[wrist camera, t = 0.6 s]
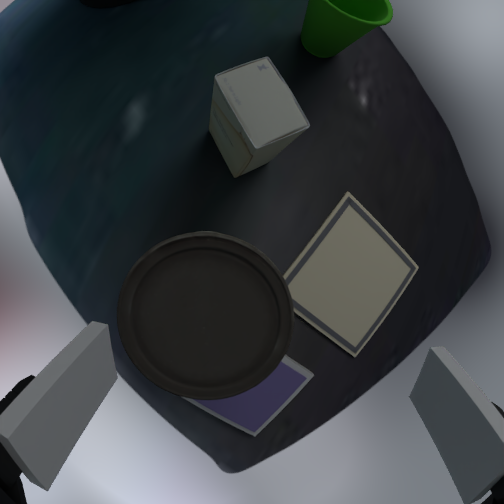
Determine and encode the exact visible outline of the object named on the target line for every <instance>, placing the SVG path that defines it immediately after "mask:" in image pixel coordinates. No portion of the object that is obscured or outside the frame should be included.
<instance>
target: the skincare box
mask: <svg viewBox="0 0 504 504" xmlns="http://www.w3.org/2000/svg"><path fill="white" fill-rule="evenodd" d="M309 126H310V124H309V122H308V120H307V118H306V116H305V115H304V113H303V111H302V109H301V108H300V106H299V104H298V102H297V100H296V99H295V97H294V95H293V93H292V92H291V90H290V89H289V87H288V85H287V84H286V82H285V81H284V79H283V78H282V76H281V75H280V73H279V72H278V70H277V69H276V67H275V66H274V64H273V63H272V61H271V60H270V58H269V57H264V58H261V59H257V60H254V61H251V62H248V63H245V64H242V65H239V66H237V67H234V68H231V69H228V70H226V71H224V72H221V73H219V74H217V75H215V78H214V87H213V96H212V105H211V114H210V123H209V131H210V133H211V135H212V137H213V139H214V141H215V143H216V145H217V147H218V149H219V151H220V152H221V154H222V156H223V158H224V160H225V162H226V164H227V166H228V167H229V169H230V171H231V173H232V175H233V177H234V178H236V177H238V176H241V175H243V174H245V173H247V172H249V171H252V170H254V169H256V168H258V167H260V166H262V165H264V164H266V163H268V162H269V161H270V160H272V159H273V158H274V157H275V156H276V155H277V154H278V153H279V152H281V151H282V150H283V149H284V148H285V147H286V146H288V145H289V144H290V143H291V142H292V141H293V140H295V139H296V138H297V137H298V136H299V135H300V134H302V133H303V132H304V131H305V130H306V129H308V128H309Z"/></svg>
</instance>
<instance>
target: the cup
mask: <svg viewBox="0 0 504 504" xmlns="http://www.w3.org/2000/svg"><path fill="white" fill-rule="evenodd" d="M392 17H393V9H392V6H391V3H390V2H389V0H309V3H308V7H307V11H306V15H305V19H304V23H303V27H302V31H301V42H302V45H303V46H304V48H305V49H306V50H307V51H308V52H310V53H311V54H313V55H315V56H318V57H322V58H329V57H333V56H335V55H336V54H338V53H339V52H341V51H342V50H343V49H345V48H346V47H348V46H349V45H350V44H352V43H353V42H355V41H356V40H358V39H359V38H360V37H362V36H363V35H365V34H366V33H368V32H369V31H371V30H372V29H374V28H376V27H377V26H382V25H386V24H388V23H389V22H390V21H391V19H392Z"/></svg>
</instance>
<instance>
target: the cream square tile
mask: <svg viewBox="0 0 504 504" xmlns="http://www.w3.org/2000/svg"><path fill="white" fill-rule="evenodd" d="M418 268H419V267H418V266H417V265H416V263H415V262H414V261H413V260H412V259H411V258H410V256H409V255H408V254H407V253H406V252H405V251H404V250H403V248H402V247H401V246H400V245H399V244H398V243H397V242H396V241H395V240H394V238H393V237H392V236H391V235H390V234H389V233H388V232H387V231H386V230H385V229H384V228H383V227H382V225H381V224H380V223H379V222H378V221H377V220H376V219H375V218H374V217H373V216H372V215H371V214H370V213H369V212H368V211H367V210H366V209H365V208H364V207H363V206H362V205H361V204H360V203H359V202H358V201H357V200H356V199H355V198H354V197H353V196H352V195H351V194H350V193H349V192H348V191H347V192H346V193H345V195H344V196H343V197H342V199H341V200H340V201H339V203H338V204H337V205H336V207H335V208H334V210H333V211H332V212H331V214H330V215H329V216H328V218H327V219H326V220H325V222H324V223H323V224H322V225H321V227H320V228H319V229H318V231H317V232H316V233H315V235H314V236H313V237H312V239H311V240H310V241H309V243H308V244H307V245H306V246H305V248H304V249H303V250H302V252H301V253H300V254H299V256H298V257H297V258H296V259H295V261H294V262H293V263H292V264H291V266H290V267H289V268H288V270H287V271H286V272H285V273H284V275H283V277H284V279H285V281H286V283H287V285H288V288H289V291H290V294H291V297H292V301H293V307H294V312H295V313H297V314H298V315H299V316H300V317H302V318H303V319H304V320H306V321H307V322H308V323H310V324H311V325H312V326H314V327H315V328H316V329H318V330H319V331H320V332H322V333H323V334H324V335H326V336H327V337H328V338H330V339H331V340H332V341H334V342H335V343H336V344H338V345H339V346H340V347H342V348H343V349H344V350H346V351H347V352H348V353H350V354H351V355H352V356H354V357H356V356H357V354H358V353H359V352H360V351H361V349H362V348H363V347H364V346H365V344H366V343H367V342H368V340H369V339H370V338H371V337H372V335H373V334H374V333H375V331H376V330H377V329H378V327H379V326H380V324H381V323H382V322H383V320H384V319H385V318H386V316H387V315H388V313H389V312H390V311H391V309H392V308H393V306H394V305H395V303H396V302H397V300H398V299H399V297H400V296H401V294H402V293H403V291H404V290H405V288H406V287H407V285H408V284H409V282H410V281H411V279H412V278H413V276H414V274H415V273H416V271H417V270H418Z"/></svg>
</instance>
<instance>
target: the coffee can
mask: <svg viewBox="0 0 504 504" xmlns="http://www.w3.org/2000/svg"><path fill="white" fill-rule="evenodd" d="M117 324H118V331H119V335H120V338H121V342H122V344H123V347H124V349H125V351H126V353H127V354H128V356H129V358H130V359H131V361H132V362H133V364H134V365H135V366H136V368H137V369H138V370H139V371H140V372H141V373H142V374H143V375H144V376H145V377H146V378H147V379H148V380H149V381H151V382H152V383H154V384H155V385H156V386H158V387H160V388H161V389H164V390H165V391H168V392H170V393H172V394H175V395H178V396H181V397H185V398H190V399H195V400H219V399H225V398H229V397H233V396H236V395H239V394H241V393H244V392H246V391H248V390H250V389H252V388H254V387H256V386H257V385H258V384H260V383H261V382H262V381H264V380H265V379H266V378H267V377H268V376H269V375H270V374H271V373H272V372H273V371H274V370H275V369H276V368H277V366H278V365H279V363H280V362H281V361H282V359H283V357H284V356H285V354H286V352H287V350H288V347H289V345H290V342H291V338H292V334H293V327H294V307H293V301H292V297H291V294H290V291H289V288H288V285H287V283H286V281H285V279H284V277H283V276H282V274H281V272H280V271H279V269H278V268H277V267H276V266H275V264H274V263H273V262H272V261H271V260H270V259H269V258H268V257H267V256H266V255H265V254H264V253H262V252H261V251H260V250H258V249H257V248H256V247H254V246H253V245H251V244H249V243H247V242H245V241H243V240H241V239H238V238H235V237H233V236H230V235H226V234H221V233H218V232H212V231H199V232H193V233H186V234H182V235H178V236H174V237H172V238H169V239H166V240H164V241H162V242H160V243H158V244H157V245H155V246H154V247H152V248H151V249H149V250H148V251H147V252H146V253H145V254H144V255H143V256H141V257H140V258H139V260H138V261H137V262H136V263H135V264H134V265H133V267H132V268H131V270H130V271H129V273H128V274H127V276H126V278H125V280H124V283H123V285H122V288H121V291H120V294H119V299H118V307H117Z"/></svg>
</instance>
